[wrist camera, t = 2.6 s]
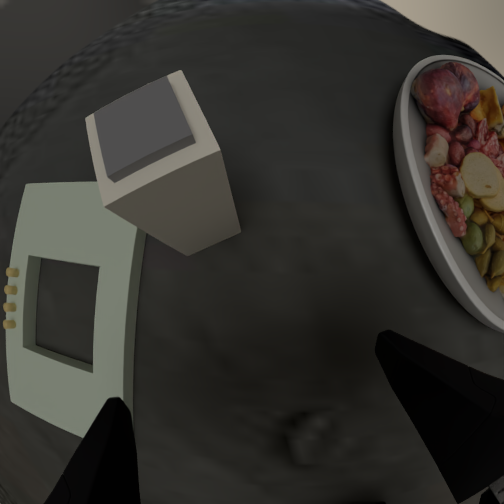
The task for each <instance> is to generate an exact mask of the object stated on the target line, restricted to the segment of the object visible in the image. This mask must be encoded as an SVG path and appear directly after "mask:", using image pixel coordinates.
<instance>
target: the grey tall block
mask: <svg viewBox="0 0 504 504" xmlns="http://www.w3.org/2000/svg"><path fill="white" fill-rule="evenodd" d="M85 120H86V126H87V132H88V138H89V144H90V149H91V154H92V159H93V164H94V168H95V173H96V177H97V182H98V186H99V190H100V194H101V198H102V202H103V206H104V207H105V208H106V209H108V210H110V211H111V212H113V213H115V214H116V215H118V216H119V217H121V218H123V219H124V220H126V221H128V222H129V223H131V224H133V225H134V226H136V227H138V228H139V229H141V230H143V231H145V232H146V233H148V234H150V235H151V236H153V237H155V238H156V239H158V240H160V241H162V242H163V243H165V244H167V245H168V246H170V247H172V248H174V249H175V250H177V251H179V252H181V253H182V254H184V255H186V256H190V255H192V254H194V253H196V252H198V251H201V250H203V249H205V248H207V247H209V246H212V245H214V244H216V243H218V242H220V241H223V240H225V239H227V238H229V237H232V236H234V235H236V234H238V233H241V229H240V225H239V221H238V217H237V213H236V209H235V205H234V201H233V197H232V193H231V189H230V185H229V181H228V177H227V174H226V170H225V166H224V162H223V158H222V154H221V150H220V148H219V146H218V144H217V142H216V139H215V137H214V135H213V133H212V131H211V129H210V127H209V125H208V123H207V121H206V119H205V117H204V115H203V113H202V111H201V109H200V107H199V105H198V103H197V101H196V99H195V97H194V95H193V93H192V91H191V89H190V86H189V84H188V82H187V80H186V78H185V76H184V74H183V72H182V70H179V71H177V72H175V73H172V74H170V75H167V76H165V77H163V78H161V79H158V80H156V81H154V82H152V83H150V84H147V85H145V86H143V87H141V88H139V89H137V90H135V91H133V92H131V93H129V94H127V95H125V96H123V97H121V98H120V99H118V100H116V101H114V102H112V103H110V104H109V105H107V106H105V107H103V108H101V109H100V110H98V111H96V112H95V113H93V114H91V115H90V116H88V117H86V118H85Z"/></svg>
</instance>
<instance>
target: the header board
mask: <svg viewBox="0 0 504 504" xmlns="http://www.w3.org/2000/svg"><path fill="white" fill-rule="evenodd" d="M146 234H147V233H146V232H145V231H143V230H141V229H139V228H138V227H136V226H134V225H133V224H131V223H129V222H128V221H126V220H124V219H123V218H121V217H119V216H118V215H116V214H115V213H113V212H111V211H110V210H108V209H106V208H105V207H104V206H103V202H102V198H101V194H100V190H99V186H98V182H59V183H34V184H26V187H25V190H24V194H23V198H22V202H21V206H20V210H19V215H18V220H17V224H16V230H15V235H14V241H13V247H12V253H11V261H10V268H7V270H6V275H7V276H9V278H8V285H6V286H5V288H4V291H5V293H6V294H7V303H4V305H3V308H4V311H5V312H6V320H4V321H3V327H4V328H5V329H6V353H7V370H8V381H9V390H10V398H11V402H13V403H14V404H16V405H18V406H20V407H21V408H23V409H25V410H27V411H28V412H30V413H32V414H34V415H36V416H38V417H39V418H41V419H43V420H45V421H47V422H49V423H51V424H53V425H55V426H58V427H60V428H62V429H64V430H66V431H68V432H71V433H73V434H75V435H78V436H80V437H82V438H84V436H85V434H86V433H87V431H88V429H89V428H90V426H91V424H92V423H93V421H94V420H95V418H96V416H97V415H98V413H99V411H100V410H101V408H102V407H103V405H104V403H105V402H106V400H107V399H108V398H110V397H120V398H121V399H122V400H123V402H124V403H125V404H126V406H127V407H128V408H129V410H130V412H131V416H132V423H133V369H134V345H135V329H136V316H137V305H138V294H139V285H140V276H141V268H142V261H143V253H144V247H145V240H146ZM41 258H45V259H51V260H57V261H63V262H70V263H76V264H82V265H89V266H96V267H100V269H99V278H98V287H97V297H96V308H95V323H94V344H93V365H91V364H88V363H85V362H82V361H79V360H75V359H72V358H69V357H67V356H64V355H61V354H58V353H55V352H53V351H50V350H47V349H45V348H42V347H39V346H37V345H36V309H37V294H38V283H39V274H40V265H41ZM133 431H134V427H133Z"/></svg>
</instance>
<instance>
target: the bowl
mask: <svg viewBox="0 0 504 504" xmlns="http://www.w3.org/2000/svg"><path fill="white" fill-rule="evenodd" d="M393 144H394V154H395V162H396V167H397V173H398V177H399V182H400V186H401V190H402V193H403V197H404V200H405V203H406V207H407V209H408V212H409V215H410V218H411V221H412V223H413V226H414V228H415V231H416V233H417V235H418V238H419V240H420V242H421V244H422V246H423V249H424V250H425V252H426V254H427V256H428V258H429V260H430V262H431V264H432V265H433V267H434V269H435V270H436V272H437V274H438V275H439V277H440V278H441V280H442V281H443V283H444V284H445V286H446V287H447V289H448V290H449V291H450V293H451V294H452V295H453V296H454V297H455V299H456V300H457V301H458V302H459V303H460V304H461V305H462V306H463V307H464V308H465V309H466V310H467V311H468V312H469V313H470V314H471V315H472V316H473V317H475V318H476V319H477V320H479V321H480V322H482V323H483V324H485V325H486V326H488V327H490V328H492V329H494V330H497V331H500V332H502V333H504V80H503V79H501V78H500V77H499V76H497V75H496V74H494V73H493V72H491V71H490V70H488V69H486V68H485V67H483V66H481V65H479V64H477V63H475V62H472V61H470V60H467V59H464V58H461V57H457V56H450V55H437V56H432V57H428V58H426V59H424V60H422V61H420V62H419V63H417V64H416V65H415V66H414V67H413V68H412V69H411V71H410V72H409V74H408V75H407V77H406V78H405V80H404V82H403V84H402V86H401V88H400V91H399V94H398V97H397V100H396V105H395V110H394V119H393Z"/></svg>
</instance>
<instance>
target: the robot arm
mask: <svg viewBox="0 0 504 504" xmlns="http://www.w3.org/2000/svg"><path fill="white" fill-rule="evenodd" d="M375 353H376V356H377V358H378V360H379V362H380V364H381V366H382V368H383V371H384V373H385V375H386V377H387V379H388V381H389V383H390V385H391V387H392V389H393V391H394V392H395V394H396V396H397V397H398V399H399V401H400V402H401V404H402V406H403V407H404V409H405V411H406V412H407V414H408V416H409V417H410V419H411V421H412V422H413V424H414V426H415V428H416V429H417V431H418V433H419V434H420V436H421V438H422V440H423V441H424V443H425V445H426V447H427V448H428V450H429V452H430V454H431V455H432V457H433V459H434V461H435V463H436V464H437V466H438V468H439V470H440V472H441V474H442V476H443V478H444V479H445V481H446V483H447V485H448V487H449V489H450V491H451V493H452V495H453V496H454V498H455V500H456V502H457V503H458V504H459V503H461V502H463V501H464V500H466V499H468V498H470V497H471V496H473V495H475V494H476V493H478V492H480V491H481V490H483V489H484V488H486V487H489V488H488V489H487V490H486V491H485V492H484V493H483V494H482V495H481V498H480V502H479V504H504V380H503V379H500V378H497V377H494V376H491V375H488V374H486V373H483V372H481V371H479V370H476V369H474V368H472V367H470V366H469V367H468V366H467V365H465V364H463V363H461V362H459V361H456V360H454V359H452V358H450V357H448V356H445V355H443V354H441V353H439V352H437V351H435V350H432V349H430V348H428V347H426V346H424V345H422V344H419V343H417V342H415V341H413V340H411V339H409V338H406V337H404V336H402V335H400V334H398V333H396V332H394V331H391V330H385V331H383V332H380V333H379V334H378V337H377V342H376V346H375ZM44 504H141V502H140V492H139V480H138V464H137V451H136V444H135V438H134V431H133V423H132V416H131V412H130V410H129V408H128V407H127V406H126V404H125V403H124V402H123V400H122V399H121V398H120V397H110V398H108V399H107V400H106V402H105V403H104V405H103V407H102V408H101V410H100V411H99V413H98V415H97V416H96V418H95V420H94V421H93V423H92V424H91V426H90V428H89V429H88V431H87V433H86V434H85V436H84V438H83V439H82V441H81V443H80V444H79V446H78V448H77V449H76V451H75V453H74V455H73V456H72V458H71V460H70V461H69V463H68V465H67V467H66V468H65V470H64V472H63V474H62V475H61V477H60V479H59V481H58V482H57V484H56V486H55V487H54V489H53V491H52V492H51V494H50V495H49V497H48V498H47V500H46V501H45V503H44ZM376 504H386V503H385V502H381V503H376Z"/></svg>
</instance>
